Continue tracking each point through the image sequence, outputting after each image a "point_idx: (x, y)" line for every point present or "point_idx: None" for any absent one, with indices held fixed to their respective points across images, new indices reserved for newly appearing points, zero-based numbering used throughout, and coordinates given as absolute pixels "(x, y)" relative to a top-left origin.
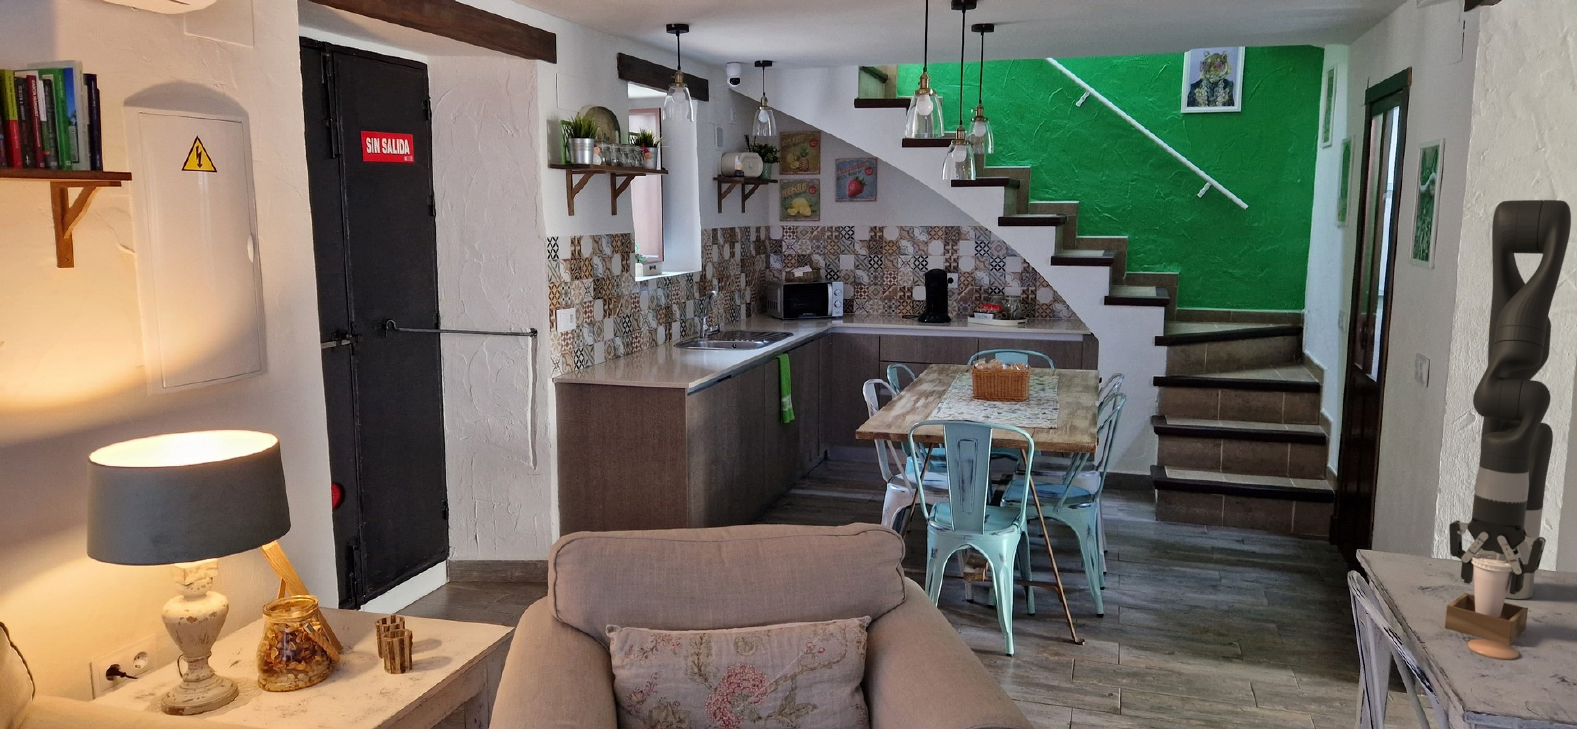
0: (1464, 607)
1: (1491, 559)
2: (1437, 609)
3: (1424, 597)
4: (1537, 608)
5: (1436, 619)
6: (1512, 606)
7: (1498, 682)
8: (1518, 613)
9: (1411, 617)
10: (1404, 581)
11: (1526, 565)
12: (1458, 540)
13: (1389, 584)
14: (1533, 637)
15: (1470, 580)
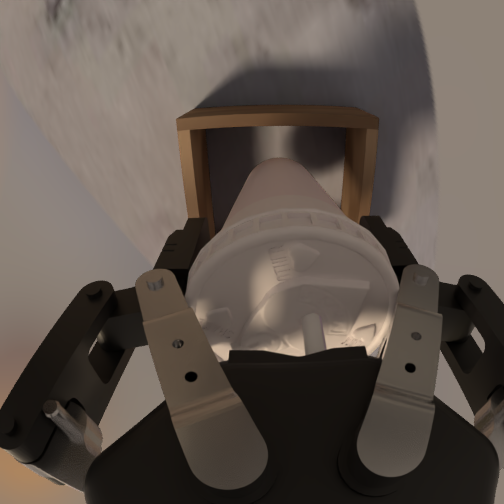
0: (200, 141)
1: (284, 338)
2: (136, 128)
3: (79, 68)
4: None
5: (169, 204)
6: (335, 125)
7: None
8: (364, 194)
9: (133, 237)
10: (17, 12)
11: (443, 334)
12: (100, 395)
13: (7, 65)
14: (380, 147)
15: (207, 242)
